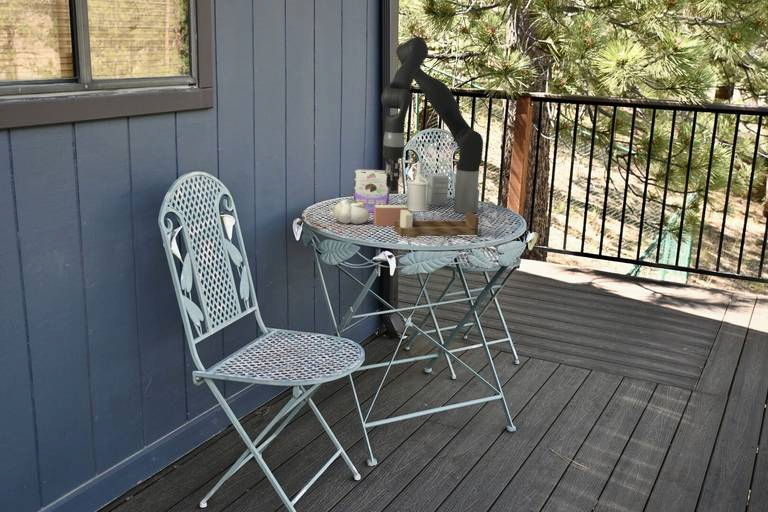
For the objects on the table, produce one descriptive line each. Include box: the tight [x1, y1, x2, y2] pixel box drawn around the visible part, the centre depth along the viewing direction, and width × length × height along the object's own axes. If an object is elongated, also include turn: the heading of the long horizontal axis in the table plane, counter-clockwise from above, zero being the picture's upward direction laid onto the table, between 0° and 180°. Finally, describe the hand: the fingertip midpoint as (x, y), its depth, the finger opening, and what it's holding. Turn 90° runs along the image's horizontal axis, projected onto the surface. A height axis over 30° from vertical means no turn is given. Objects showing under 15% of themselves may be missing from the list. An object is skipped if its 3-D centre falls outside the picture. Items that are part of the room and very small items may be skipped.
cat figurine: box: [328, 198, 371, 225], centre depth 300 cm, size 10×8×15 cm
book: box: [372, 204, 408, 227], centre depth 301 cm, size 12×4×7 cm, turn 101°
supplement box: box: [426, 172, 449, 206], centre depth 343 cm, size 7×7×13 cm
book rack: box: [393, 211, 480, 238], centre depth 291 cm, size 28×12×7 cm, turn 101°
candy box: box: [353, 168, 391, 214], centre depth 322 cm, size 14×6×16 cm, turn 84°
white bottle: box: [406, 160, 430, 213], centre depth 328 cm, size 10×9×20 cm
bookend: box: [400, 210, 414, 228], centre depth 289 cm, size 2×9×6 cm, turn 11°
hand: (391, 188), depth 298 cm, fingers open, 8 cm apart
